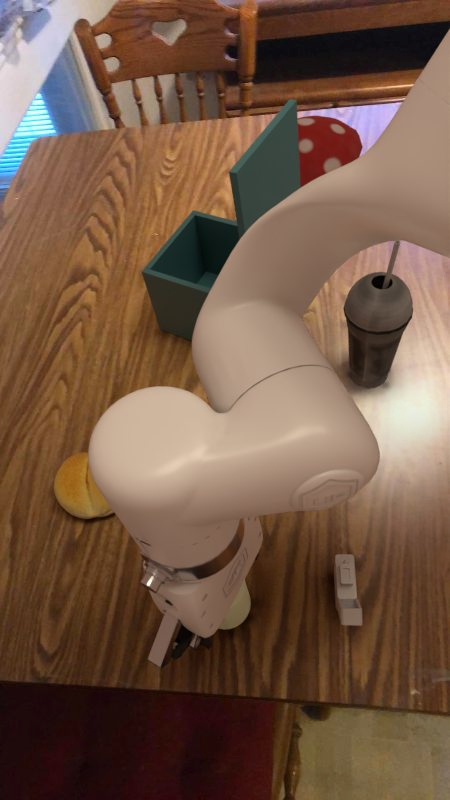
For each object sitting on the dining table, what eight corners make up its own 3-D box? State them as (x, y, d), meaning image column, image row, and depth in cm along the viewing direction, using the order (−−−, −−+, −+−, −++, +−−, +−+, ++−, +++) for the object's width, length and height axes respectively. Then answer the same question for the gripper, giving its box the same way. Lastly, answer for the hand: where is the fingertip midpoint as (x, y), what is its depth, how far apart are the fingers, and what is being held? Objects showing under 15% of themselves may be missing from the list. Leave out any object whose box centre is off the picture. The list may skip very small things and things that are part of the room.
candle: (260, 595, 57) (254, 569, 50) (232, 640, 54) (222, 619, 48) (219, 569, 59) (208, 540, 52) (191, 611, 56) (175, 587, 50)
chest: (159, 329, 79) (140, 271, 70) (205, 270, 84) (192, 209, 75) (259, 365, 73) (252, 307, 64) (300, 299, 79) (299, 237, 70)
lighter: (333, 568, 57) (336, 540, 51) (350, 568, 57) (356, 540, 50) (337, 643, 53) (341, 623, 47) (356, 644, 53) (363, 623, 46)
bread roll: (63, 460, 68) (51, 444, 65) (136, 453, 68) (127, 436, 64) (54, 525, 64) (40, 511, 60) (132, 518, 63) (122, 503, 60)
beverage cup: (327, 366, 72) (333, 240, 55) (375, 341, 73) (395, 212, 56) (361, 406, 68) (378, 284, 51) (411, 380, 69) (443, 253, 52)
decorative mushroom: (300, 263, 83) (298, 172, 70) (235, 214, 91) (224, 124, 79) (380, 213, 87) (391, 118, 74) (311, 170, 95) (311, 78, 83)
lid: (228, 171, 50) (236, 173, 50) (289, 98, 56) (296, 99, 56) (249, 303, 64) (255, 305, 64) (296, 234, 69) (302, 235, 69)
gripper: (168, 671, 34) (209, 706, 48) (292, 444, 42) (296, 531, 56) (73, 612, 37) (138, 661, 51) (206, 409, 45) (230, 501, 59)
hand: (221, 593), depth 54 cm, fingers open, 8 cm apart
